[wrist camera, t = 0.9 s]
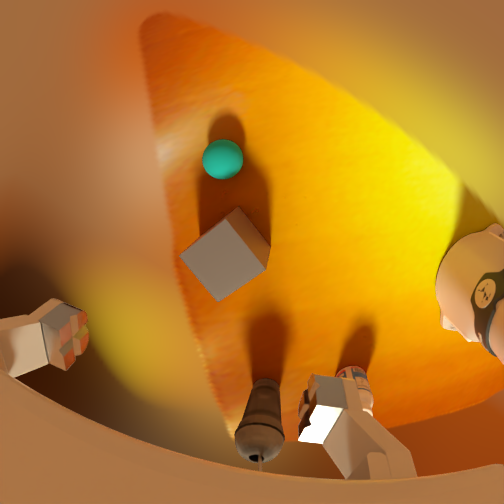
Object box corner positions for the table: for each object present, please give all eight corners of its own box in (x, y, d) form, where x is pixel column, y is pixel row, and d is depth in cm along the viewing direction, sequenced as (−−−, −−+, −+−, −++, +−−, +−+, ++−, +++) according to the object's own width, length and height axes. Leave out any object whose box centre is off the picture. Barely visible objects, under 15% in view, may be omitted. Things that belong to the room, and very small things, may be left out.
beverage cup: (264, 365, 48) (248, 465, 29) (296, 387, 49) (293, 485, 30) (236, 387, 50) (212, 481, 31) (268, 407, 51) (255, 500, 32)
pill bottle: (338, 392, 48) (344, 433, 39) (330, 370, 47) (336, 412, 38) (368, 382, 47) (379, 422, 38) (362, 360, 46) (373, 400, 37)
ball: (251, 148, 38) (246, 147, 34) (237, 183, 40) (230, 187, 35) (216, 135, 38) (206, 132, 34) (202, 170, 40) (191, 172, 35)
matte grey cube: (238, 205, 41) (225, 218, 33) (270, 247, 42) (265, 269, 34) (199, 236, 43) (178, 255, 35) (231, 275, 44) (217, 302, 36)
